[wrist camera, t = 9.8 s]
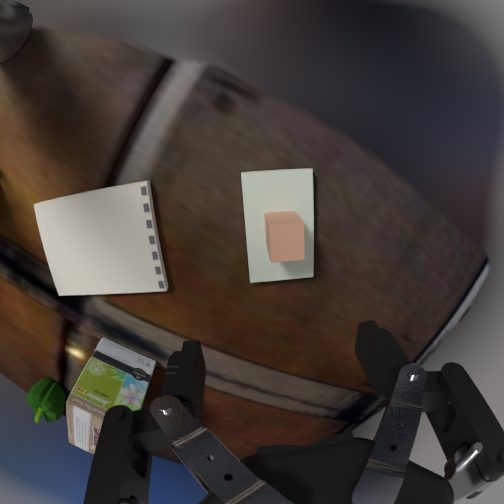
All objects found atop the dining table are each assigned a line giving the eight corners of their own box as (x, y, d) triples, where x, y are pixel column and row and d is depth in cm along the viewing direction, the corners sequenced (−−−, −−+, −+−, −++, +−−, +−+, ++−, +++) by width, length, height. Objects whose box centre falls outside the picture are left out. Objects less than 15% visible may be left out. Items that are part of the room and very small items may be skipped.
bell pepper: (48, 368, 43) (28, 401, 33) (76, 395, 45) (60, 429, 36) (33, 377, 44) (15, 407, 34) (59, 401, 47) (44, 432, 37)
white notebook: (62, 291, 36) (58, 296, 35) (38, 202, 31) (33, 205, 30) (168, 286, 37) (166, 291, 35) (149, 180, 31) (146, 181, 30)
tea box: (101, 334, 39) (64, 401, 26) (157, 359, 41) (136, 434, 28) (92, 385, 44) (67, 444, 30) (139, 406, 46) (123, 468, 32)
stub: (249, 279, 37) (252, 304, 31) (240, 172, 32) (241, 178, 26) (311, 273, 37) (323, 296, 31) (310, 168, 32) (325, 174, 26)
